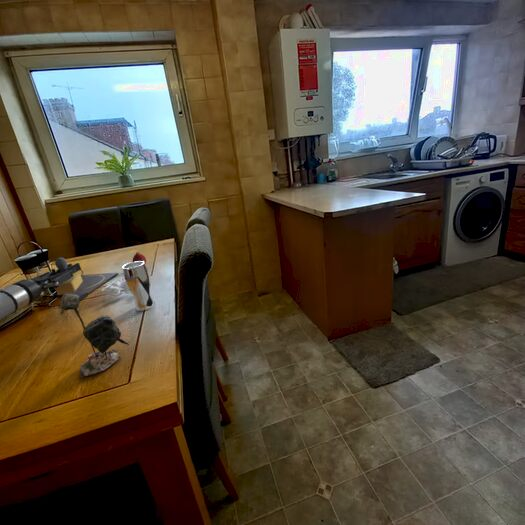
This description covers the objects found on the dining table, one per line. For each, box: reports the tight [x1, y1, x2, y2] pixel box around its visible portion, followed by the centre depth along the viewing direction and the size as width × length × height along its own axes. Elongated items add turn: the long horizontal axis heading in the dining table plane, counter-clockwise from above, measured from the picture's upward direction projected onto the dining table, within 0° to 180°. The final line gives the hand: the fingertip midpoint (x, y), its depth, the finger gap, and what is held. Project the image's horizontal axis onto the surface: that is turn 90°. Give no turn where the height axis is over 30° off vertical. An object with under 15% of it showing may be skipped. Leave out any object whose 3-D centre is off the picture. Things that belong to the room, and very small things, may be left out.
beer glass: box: [121, 261, 156, 312], centre depth 90 cm, size 7×7×15 cm
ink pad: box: [60, 292, 88, 302], centre depth 104 cm, size 7×5×2 cm
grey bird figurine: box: [59, 294, 130, 378], centre depth 63 cm, size 8×11×20 cm
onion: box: [132, 251, 147, 265], centre depth 129 cm, size 6×6×8 cm
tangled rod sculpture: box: [100, 277, 132, 297], centre depth 110 cm, size 19×14×4 cm
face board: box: [57, 272, 119, 297], centre depth 118 cm, size 20×20×1 cm
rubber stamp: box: [54, 257, 83, 295], centre depth 101 cm, size 10×6×12 cm, turn 18°
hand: (75, 266), depth 106 cm, fingers closed on rubber stamp, 2 cm apart
